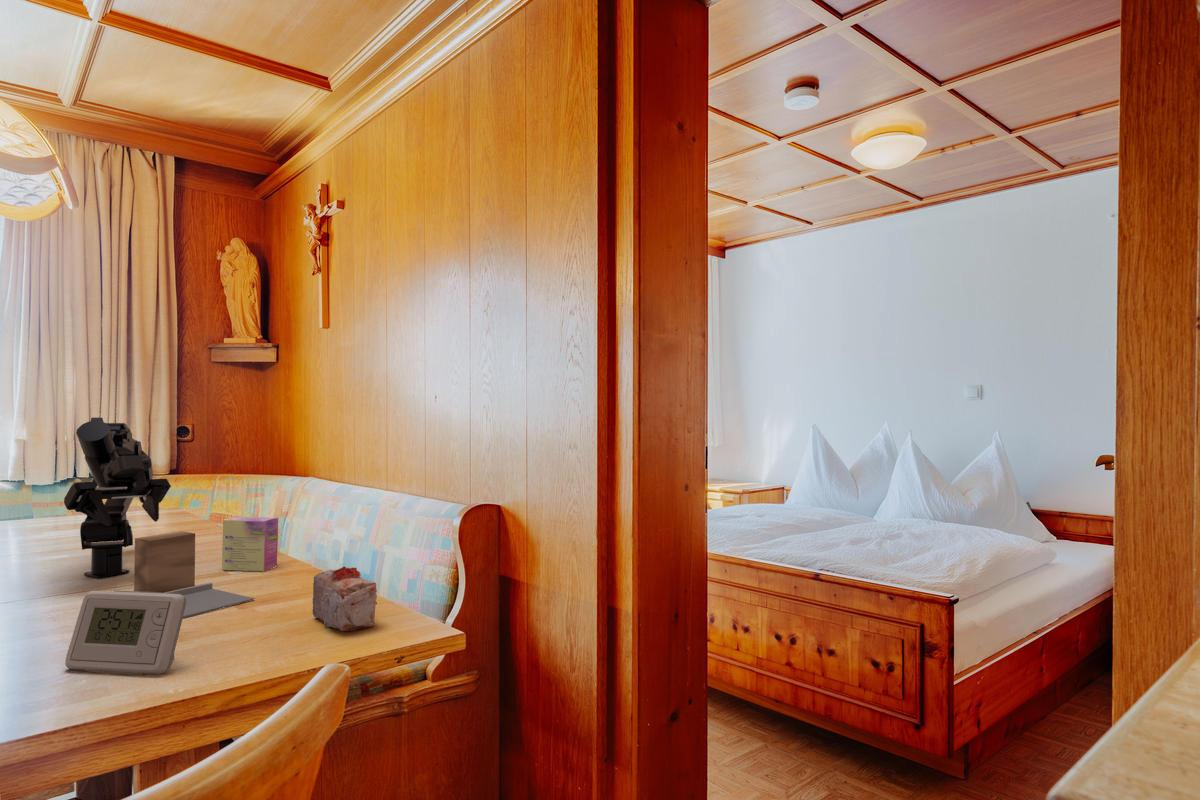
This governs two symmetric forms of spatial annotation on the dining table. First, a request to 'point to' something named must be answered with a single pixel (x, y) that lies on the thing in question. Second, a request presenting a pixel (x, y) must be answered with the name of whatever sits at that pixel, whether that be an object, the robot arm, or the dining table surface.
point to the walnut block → (164, 562)
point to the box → (249, 543)
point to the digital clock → (126, 632)
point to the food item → (344, 599)
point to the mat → (207, 599)
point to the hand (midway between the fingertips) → (134, 522)
